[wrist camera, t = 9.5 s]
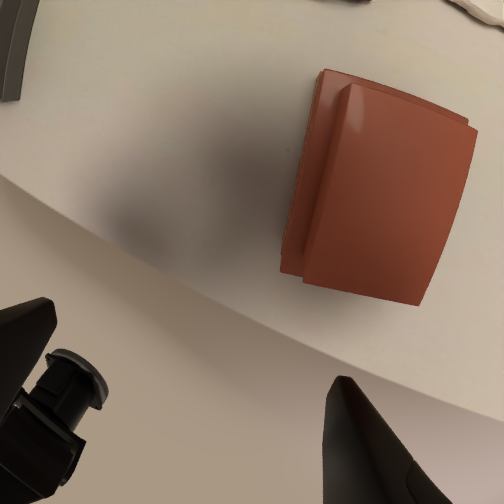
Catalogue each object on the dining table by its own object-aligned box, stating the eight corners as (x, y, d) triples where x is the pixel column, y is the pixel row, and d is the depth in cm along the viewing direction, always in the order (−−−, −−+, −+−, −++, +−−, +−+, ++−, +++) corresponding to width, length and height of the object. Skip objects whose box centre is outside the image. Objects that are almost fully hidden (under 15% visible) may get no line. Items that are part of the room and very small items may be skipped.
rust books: (395, 267, 19) (413, 300, 15) (282, 242, 19) (278, 272, 15) (439, 115, 14) (472, 116, 11) (317, 76, 15) (323, 63, 11)
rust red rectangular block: (403, 280, 15) (419, 307, 12) (301, 257, 15) (302, 283, 13) (451, 127, 11) (478, 130, 9) (341, 88, 12) (351, 81, 9)
